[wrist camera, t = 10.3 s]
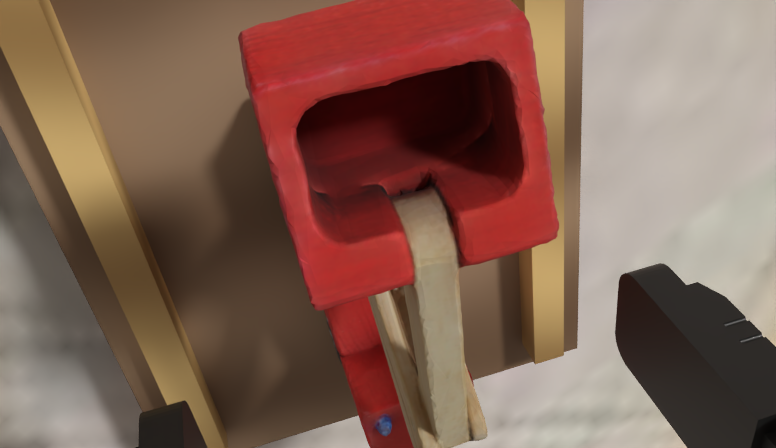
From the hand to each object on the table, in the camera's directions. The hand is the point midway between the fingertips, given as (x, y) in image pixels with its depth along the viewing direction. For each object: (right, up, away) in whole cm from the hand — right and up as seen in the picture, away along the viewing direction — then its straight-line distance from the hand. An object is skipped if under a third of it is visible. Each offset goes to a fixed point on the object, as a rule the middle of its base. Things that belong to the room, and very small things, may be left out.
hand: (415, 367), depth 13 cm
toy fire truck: (-2, +4, +6) cm, 8 cm away
